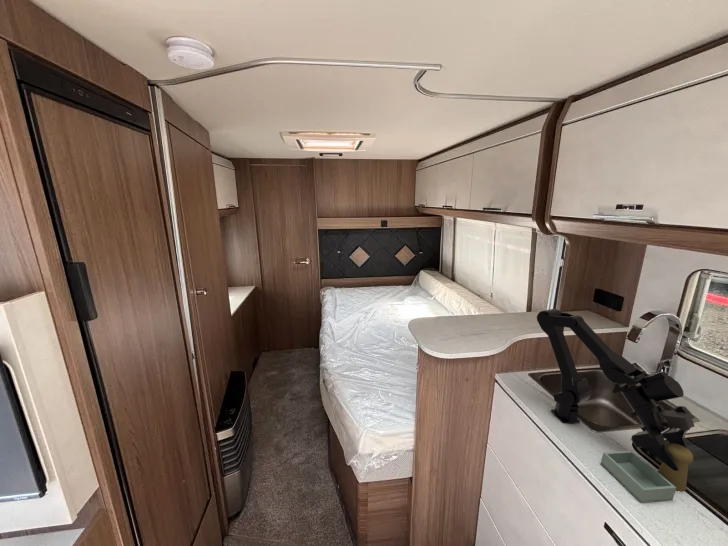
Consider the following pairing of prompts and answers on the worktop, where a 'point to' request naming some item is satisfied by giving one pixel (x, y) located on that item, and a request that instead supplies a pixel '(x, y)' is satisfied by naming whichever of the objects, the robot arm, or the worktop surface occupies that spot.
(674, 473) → the cork
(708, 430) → the worktop surface
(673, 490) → the tray
